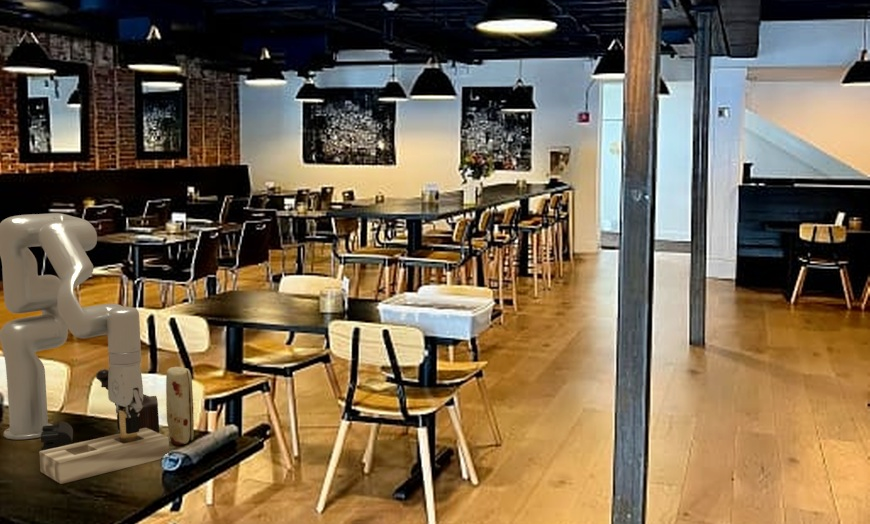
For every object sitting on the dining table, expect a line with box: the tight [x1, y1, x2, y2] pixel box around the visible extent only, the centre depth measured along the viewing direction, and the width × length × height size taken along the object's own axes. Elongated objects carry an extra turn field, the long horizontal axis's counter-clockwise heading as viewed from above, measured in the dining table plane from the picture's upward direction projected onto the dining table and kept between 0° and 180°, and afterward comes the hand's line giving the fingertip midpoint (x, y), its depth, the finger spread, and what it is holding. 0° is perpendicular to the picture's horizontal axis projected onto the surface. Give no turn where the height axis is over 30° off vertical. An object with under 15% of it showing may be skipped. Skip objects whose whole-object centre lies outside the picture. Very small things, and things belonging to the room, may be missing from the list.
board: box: [38, 428, 170, 485], centre depth 223 cm, size 12×27×5 cm, turn 134°
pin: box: [119, 407, 137, 444], centre depth 227 cm, size 4×4×11 cm
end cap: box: [40, 420, 74, 451], centre depth 233 cm, size 10×7×7 cm
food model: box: [165, 366, 195, 446], centre depth 239 cm, size 10×7×20 cm
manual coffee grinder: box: [95, 368, 160, 434], centre depth 245 cm, size 16×11×18 cm
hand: (128, 430), depth 227 cm, fingers closed on pin, 3 cm apart
